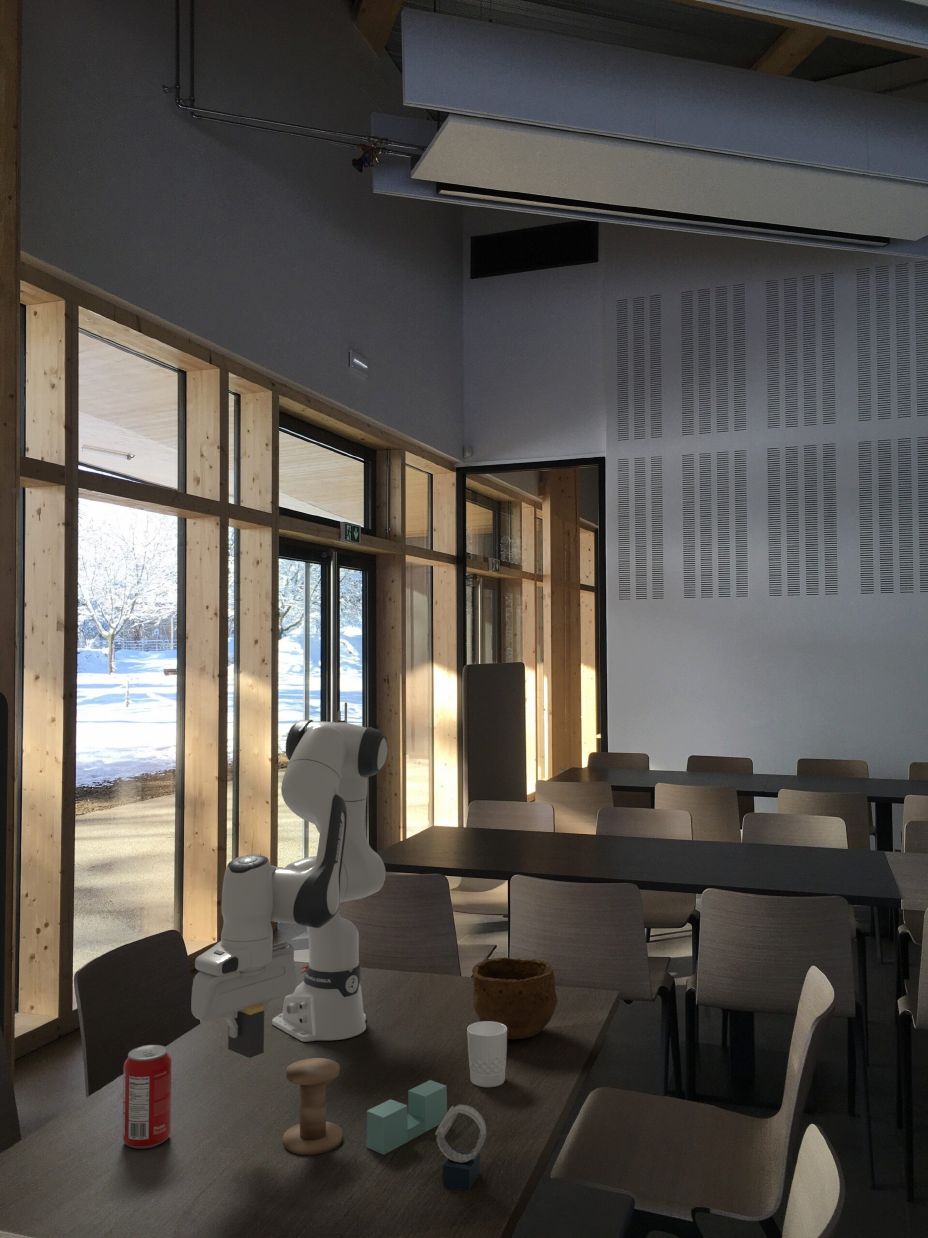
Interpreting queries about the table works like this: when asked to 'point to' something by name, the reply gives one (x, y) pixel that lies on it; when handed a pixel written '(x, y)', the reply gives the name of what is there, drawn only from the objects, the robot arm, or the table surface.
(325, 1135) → the bobbin
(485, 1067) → the white cup
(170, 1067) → the soda can
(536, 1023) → the bowl
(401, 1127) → the notch board
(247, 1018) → the yellow and black block
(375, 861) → the robot arm
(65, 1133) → the table surface
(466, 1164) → the watch
